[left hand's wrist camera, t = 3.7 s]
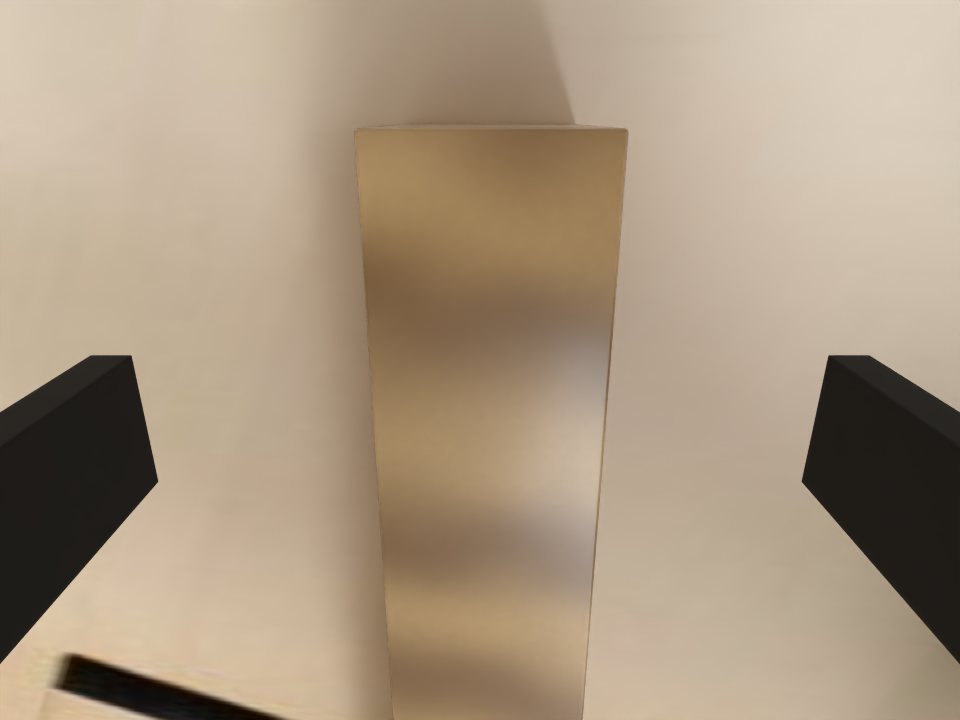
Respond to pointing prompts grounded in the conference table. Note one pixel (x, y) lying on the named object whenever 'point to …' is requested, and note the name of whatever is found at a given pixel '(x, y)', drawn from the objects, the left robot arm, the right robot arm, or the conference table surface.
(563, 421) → the post
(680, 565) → the conference table surface
